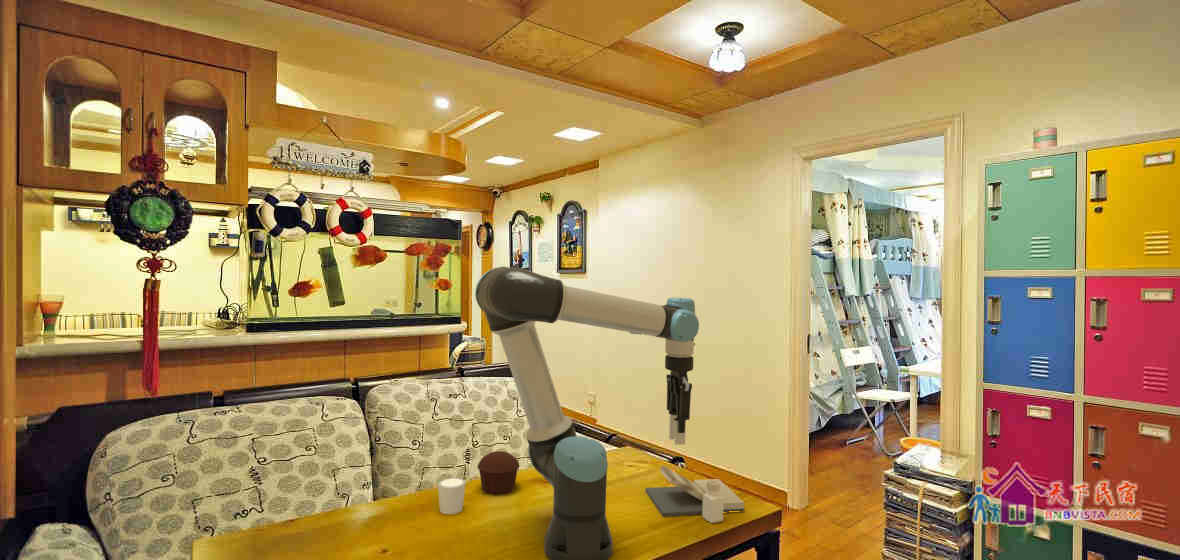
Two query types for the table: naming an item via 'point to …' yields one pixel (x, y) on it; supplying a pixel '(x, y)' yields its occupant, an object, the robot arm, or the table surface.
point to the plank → (682, 483)
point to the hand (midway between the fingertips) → (676, 441)
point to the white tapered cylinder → (451, 495)
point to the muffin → (498, 472)
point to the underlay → (690, 499)
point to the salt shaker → (713, 502)
